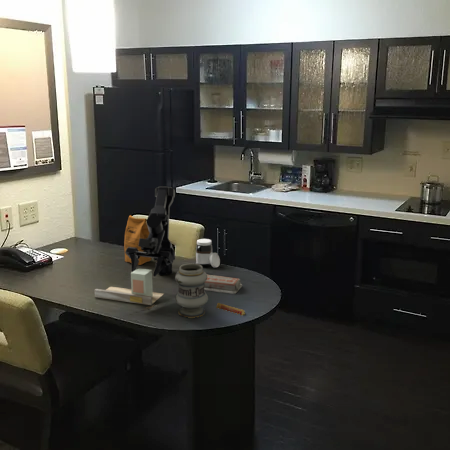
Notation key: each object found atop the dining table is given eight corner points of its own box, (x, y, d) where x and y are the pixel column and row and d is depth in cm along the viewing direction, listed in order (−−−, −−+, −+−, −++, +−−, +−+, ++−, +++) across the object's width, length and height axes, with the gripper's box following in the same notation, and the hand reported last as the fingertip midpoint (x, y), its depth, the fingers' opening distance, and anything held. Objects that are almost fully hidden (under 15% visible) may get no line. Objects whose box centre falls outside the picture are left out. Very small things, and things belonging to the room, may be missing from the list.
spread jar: (197, 260, 254) (196, 237, 252) (220, 261, 254) (220, 238, 251) (194, 269, 243) (194, 244, 240) (219, 269, 243) (219, 245, 240)
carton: (139, 294, 209) (138, 268, 206) (152, 296, 207) (152, 269, 204) (131, 300, 203) (130, 273, 200) (145, 302, 201) (144, 275, 198)
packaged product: (242, 276, 221) (235, 284, 212) (242, 287, 223) (235, 295, 214) (202, 271, 227) (194, 279, 218) (202, 281, 228) (194, 290, 219)
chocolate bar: (242, 317, 193) (242, 311, 193) (215, 309, 200) (215, 303, 200) (245, 314, 195) (246, 309, 195) (219, 307, 202) (219, 301, 202)
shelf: (110, 289, 217) (110, 279, 216) (164, 297, 210) (163, 286, 209) (94, 300, 206) (94, 290, 205) (150, 309, 199) (150, 297, 197)
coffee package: (136, 256, 261) (135, 213, 255) (154, 261, 253) (153, 217, 248) (121, 261, 253) (119, 216, 247) (139, 266, 246) (137, 220, 240)
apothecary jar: (168, 314, 194) (167, 268, 189) (187, 303, 204) (187, 259, 199) (195, 322, 188) (195, 274, 183) (214, 310, 198) (214, 265, 193)
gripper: (126, 227, 207) (113, 262, 200) (170, 231, 202) (158, 268, 194) (136, 241, 216) (124, 275, 209) (178, 245, 211) (167, 280, 204)
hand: (143, 274), depth 204 cm, fingers open, 9 cm apart
